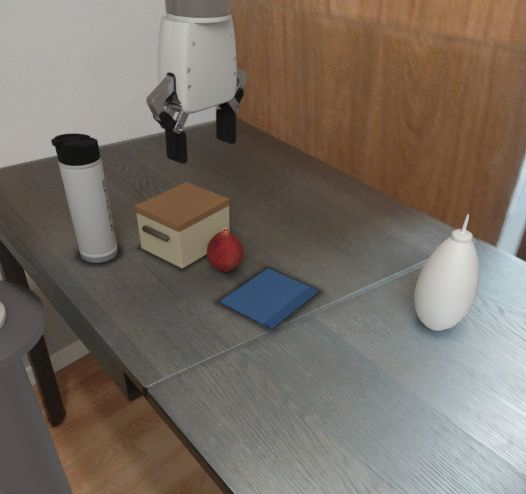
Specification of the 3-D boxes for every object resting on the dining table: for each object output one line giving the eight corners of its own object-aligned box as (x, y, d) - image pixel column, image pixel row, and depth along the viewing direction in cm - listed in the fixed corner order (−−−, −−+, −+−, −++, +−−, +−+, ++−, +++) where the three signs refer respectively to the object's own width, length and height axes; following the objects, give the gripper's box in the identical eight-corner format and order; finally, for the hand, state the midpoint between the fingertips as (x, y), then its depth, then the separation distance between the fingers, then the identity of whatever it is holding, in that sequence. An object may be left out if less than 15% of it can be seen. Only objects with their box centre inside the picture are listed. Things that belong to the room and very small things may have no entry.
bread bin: (178, 271, 88) (173, 228, 82) (136, 250, 92) (129, 207, 87) (230, 240, 96) (229, 198, 90) (189, 222, 100) (186, 181, 95)
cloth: (271, 329, 77) (271, 326, 77) (219, 302, 82) (219, 299, 81) (317, 292, 84) (318, 289, 84) (268, 269, 89) (268, 267, 88)
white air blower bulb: (473, 333, 77) (515, 220, 66) (433, 349, 74) (469, 235, 63) (435, 304, 83) (467, 195, 71) (396, 319, 80) (423, 207, 68)
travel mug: (71, 254, 91) (42, 135, 78) (105, 240, 95) (82, 124, 81) (91, 268, 88) (64, 147, 74) (125, 254, 91) (105, 136, 78)
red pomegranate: (218, 285, 85) (217, 241, 80) (201, 268, 89) (198, 225, 83) (249, 274, 88) (250, 231, 82) (231, 258, 91) (230, 215, 86)
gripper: (223, -9, 68) (223, 128, 80) (117, 5, 58) (135, 161, 69) (269, -1, 65) (263, 141, 76) (166, 16, 54) (177, 178, 66)
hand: (202, 150), depth 73 cm, fingers open, 9 cm apart
